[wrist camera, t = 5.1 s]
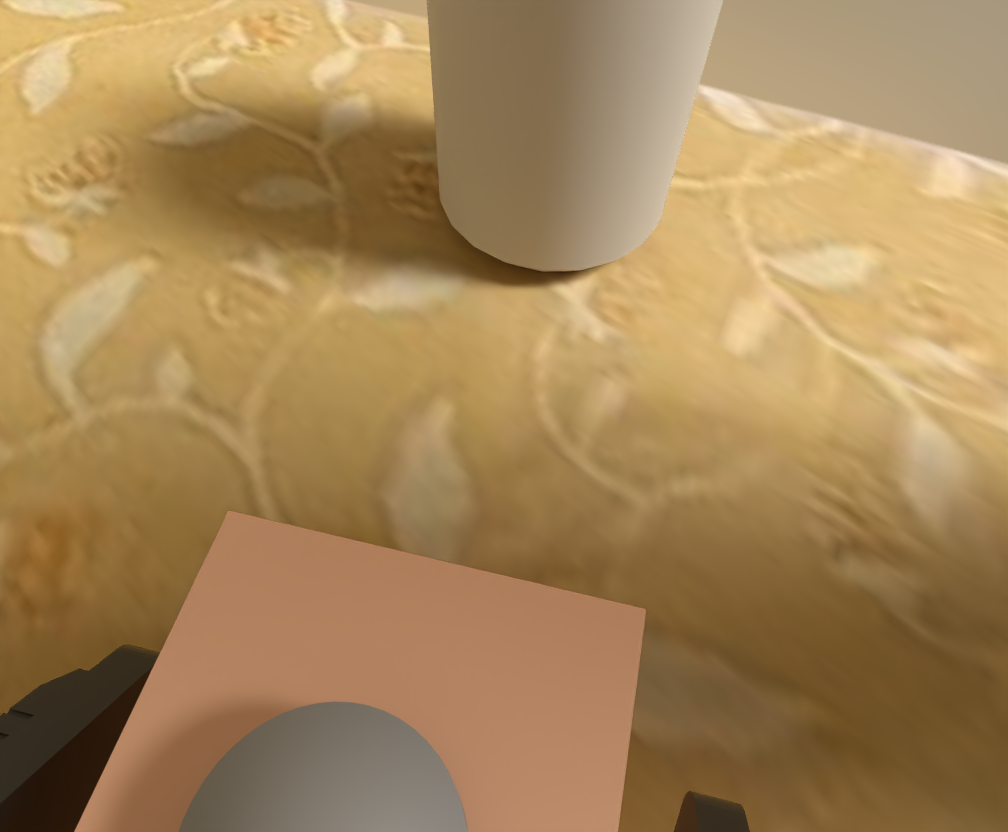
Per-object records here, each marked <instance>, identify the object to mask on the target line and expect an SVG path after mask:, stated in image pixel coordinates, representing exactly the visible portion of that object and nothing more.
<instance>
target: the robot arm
mask: <svg viewBox="0 0 1008 832" xmlns="http://www.w3.org/2000/svg"><path fill="white" fill-rule="evenodd" d="M159 654H160V653H159V652H155V651H151V650H148V649H144V648H140V647H136V646H132V645H123V646H121V647H119V648H118V649H116V650H115V651H114V652H113V653H111V654H110V655H109V656H108V657H106V658H105V659H104V660H103V661H101V662H100V663H99V664H98V665H96V666H95V667H94V668H93V669H91V670H90V671H86V670H82V669H78V670H75V671H73V672H71V673H68V674H66V675H64V676H61V677H59V678H57V679H54V680H52V681H50V682H47V683H45V684H43V685H40V686H39V687H38V688H36V689H35V690H34V691H32V692H31V693H30V694H29V695H27V696H26V697H25V698H23V699H22V700H21V701H19V702H18V703H17V704H15V705H14V706H13V707H11V708H10V710H9V712H8V713H7V714H5V713H3V714H2V715H1V716H0V832H74V831H75V829H76V827H77V825H78V823H79V821H80V819H81V817H82V815H83V813H84V810H85V808H86V806H87V804H88V802H89V800H90V798H91V796H92V794H93V792H94V790H95V787H96V785H97V783H98V781H99V779H100V777H101V775H102V773H103V771H104V769H105V767H106V765H107V762H108V760H109V758H110V756H111V754H112V752H113V750H114V748H115V746H116V744H117V742H118V740H119V737H120V735H121V733H122V731H123V729H124V727H125V725H126V723H127V721H128V719H129V717H130V715H131V712H132V710H133V708H134V706H135V704H136V702H137V700H138V698H139V696H140V694H141V692H142V690H143V687H144V685H145V683H146V681H147V679H148V677H149V675H150V673H151V671H152V669H153V667H154V665H155V662H156V660H157V658H158V656H159ZM674 832H750V831H749V827H748V823H747V819H746V815H745V812H744V809H743V807H742V806H741V805H740V804H738V803H734V802H730V801H726V800H722V799H718V798H714V797H711V796H707V795H703V794H699V793H695V792H691V791H689V792H687V794H686V795H685V797H684V800H683V803H682V806H681V809H680V813H679V816H678V820H677V823H676V826H675V830H674Z"/></svg>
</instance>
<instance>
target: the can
mask: <svg viewBox="0 0 1008 832" xmlns="http://www.w3.org/2000/svg"><path fill="white" fill-rule="evenodd" d="M722 2H723V0H427V10H428V25H429V40H430V56H431V71H432V86H433V102H434V117H435V132H436V147H437V163H438V178H439V193H440V202H441V204H442V206H443V208H444V210H445V213H446V215H447V217H448V219H449V221H450V223H451V225H452V226H453V227H454V228H455V229H456V230H457V231H458V232H459V233H460V234H461V235H462V236H463V237H464V238H465V239H466V240H467V241H469V242H470V243H471V244H472V245H473V246H474V247H476V248H478V249H480V250H482V251H484V252H486V253H488V254H489V255H491V256H493V257H495V258H497V259H499V260H501V261H503V262H505V263H510V264H513V265H515V266H520V267H524V268H528V269H533V270H537V271H542V272H552V271H574V270H584V269H587V268H591V267H595V266H599V265H602V264H606V263H610V262H614V261H616V260H618V259H620V258H621V257H623V256H625V255H626V254H628V253H629V252H631V251H633V250H634V249H636V248H638V247H639V246H641V245H643V243H644V242H645V241H646V240H647V238H648V237H649V236H650V234H651V233H652V232H653V231H654V229H655V228H656V227H657V225H658V224H659V223H660V220H661V216H662V213H663V209H664V206H665V202H666V199H667V195H668V192H669V188H670V185H671V181H672V178H673V174H674V171H675V167H676V164H677V160H678V157H679V153H680V150H681V146H682V143H683V139H684V136H685V132H686V129H687V125H688V122H689V118H690V115H691V111H692V107H693V104H694V100H695V97H696V93H697V90H698V86H699V83H700V79H701V76H702V72H703V69H704V65H705V62H706V58H707V55H708V51H709V48H710V44H711V41H712V37H713V34H714V30H715V27H716V23H717V20H718V16H719V12H720V9H721V6H722Z"/></svg>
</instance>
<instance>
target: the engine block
mask: <svg viewBox="0 0 1008 832" xmlns="http://www.w3.org/2000/svg"><path fill="white" fill-rule="evenodd" d="M645 617H646V609H644V608H640V607H635V606H631V605H627V604H623V603H619V602H614V601H610V600H606V599H602V598H597V597H593V596H589V595H585V594H580V593H576V592H572V591H568V590H564V589H559V588H555V587H551V586H547V585H542V584H538V583H534V582H530V581H526V580H521V579H517V578H513V577H509V576H504V575H500V574H496V573H492V572H487V571H483V570H479V569H475V568H471V567H466V566H462V565H458V564H454V563H449V562H445V561H441V560H437V559H432V558H428V557H424V556H420V555H416V554H411V553H407V552H403V551H399V550H394V549H390V548H386V547H382V546H377V545H373V544H369V543H365V542H361V541H356V540H352V539H348V538H344V537H339V536H335V535H331V534H327V533H322V532H318V531H314V530H310V529H306V528H301V527H297V526H293V525H289V524H284V523H280V522H276V521H272V520H267V519H263V518H259V517H255V516H251V515H246V514H242V513H238V512H234V511H229V510H228V512H227V514H226V517H225V519H224V521H223V523H222V525H221V527H220V529H219V531H218V533H217V535H216V537H215V539H214V542H213V544H212V546H211V548H210V550H209V552H208V554H207V556H206V558H205V560H204V562H203V564H202V567H201V569H200V571H199V573H198V575H197V577H196V579H195V581H194V583H193V585H192V587H191V589H190V592H189V594H188V596H187V598H186V600H185V602H184V604H183V606H182V608H181V610H180V612H179V614H178V617H177V619H176V621H175V623H174V625H173V627H172V629H171V631H170V633H169V635H168V637H167V639H166V642H165V644H164V646H163V648H162V650H161V652H160V654H159V656H158V658H157V660H156V662H155V665H154V667H153V669H152V671H151V673H150V675H149V677H148V679H147V681H146V683H145V685H144V687H143V690H142V692H141V694H140V696H139V698H138V700H137V702H136V704H135V706H134V708H133V710H132V712H131V715H130V717H129V719H128V721H127V723H126V725H125V727H124V729H123V731H122V733H121V735H120V737H119V740H118V742H117V744H116V746H115V748H114V750H113V752H112V754H111V756H110V758H109V760H108V762H107V765H106V767H105V769H104V771H103V773H102V775H101V777H100V779H99V781H98V783H97V785H96V787H95V790H94V792H93V794H92V796H91V798H90V800H89V802H88V804H87V806H86V808H85V810H84V813H83V815H82V817H81V819H80V821H79V823H78V825H77V827H76V829H75V831H74V832H618V828H619V820H620V813H621V805H622V797H623V789H624V781H625V773H626V766H627V758H628V750H629V742H630V734H631V726H632V719H633V711H634V703H635V695H636V687H637V679H638V671H639V664H640V656H641V648H642V640H643V632H644V624H645Z"/></svg>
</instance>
